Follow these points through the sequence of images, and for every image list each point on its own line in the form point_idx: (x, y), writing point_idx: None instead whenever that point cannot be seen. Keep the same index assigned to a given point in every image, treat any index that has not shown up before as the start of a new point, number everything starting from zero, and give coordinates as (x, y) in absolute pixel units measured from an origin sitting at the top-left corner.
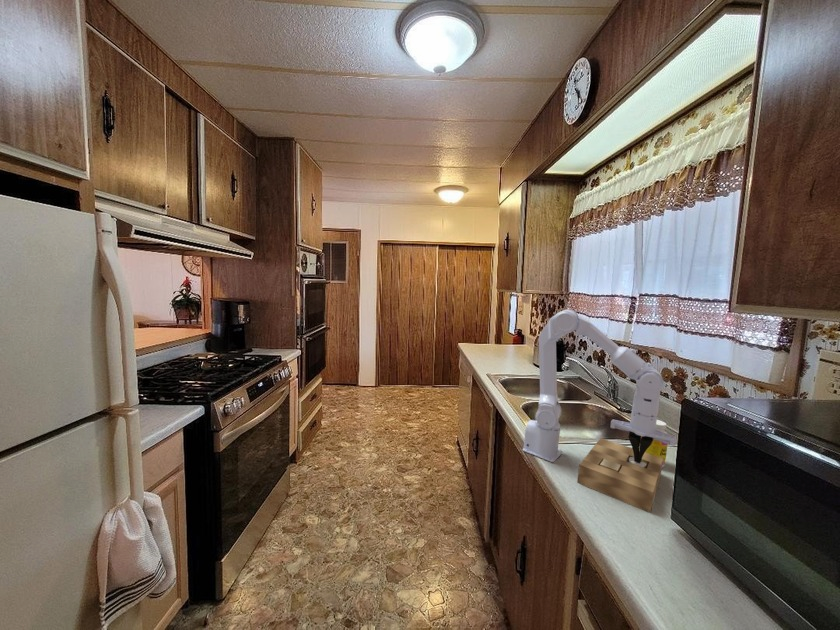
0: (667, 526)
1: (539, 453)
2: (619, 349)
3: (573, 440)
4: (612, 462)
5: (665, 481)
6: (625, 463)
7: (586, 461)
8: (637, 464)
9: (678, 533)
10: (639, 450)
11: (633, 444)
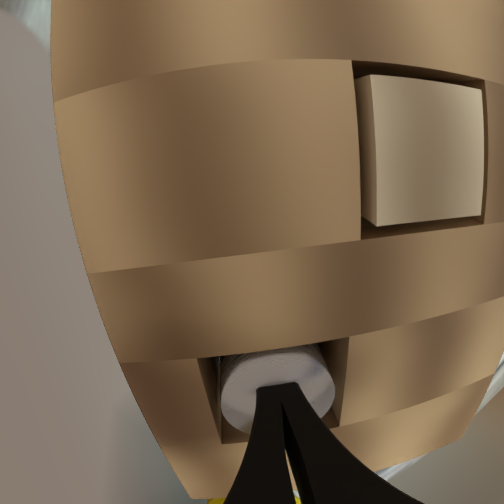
0: (39, 7)
1: None
2: None
3: (493, 385)
4: (431, 208)
5: None
6: (346, 297)
7: None
8: (267, 361)
9: (8, 9)
10: (287, 468)
11: (364, 490)
